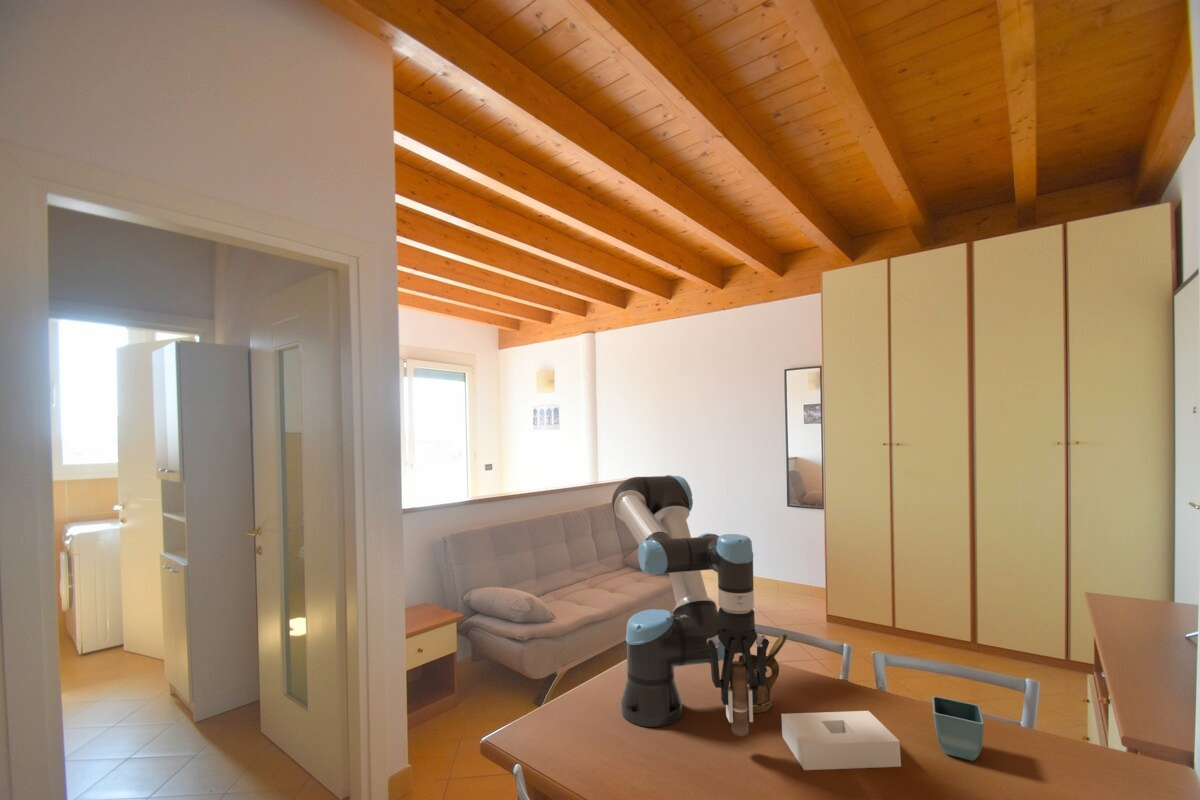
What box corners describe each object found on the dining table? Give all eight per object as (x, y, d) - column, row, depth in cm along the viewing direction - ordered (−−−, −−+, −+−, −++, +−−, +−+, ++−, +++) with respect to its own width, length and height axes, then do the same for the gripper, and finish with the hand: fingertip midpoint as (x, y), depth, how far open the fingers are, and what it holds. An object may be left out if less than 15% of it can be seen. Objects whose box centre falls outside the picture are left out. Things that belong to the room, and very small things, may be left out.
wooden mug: (791, 718, 127) (787, 641, 129) (733, 710, 132) (730, 635, 133) (789, 700, 136) (786, 628, 137) (735, 693, 140) (732, 623, 141)
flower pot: (982, 747, 114) (979, 704, 115) (987, 770, 107) (984, 723, 107) (934, 736, 119) (931, 695, 119) (935, 757, 111) (933, 713, 112)
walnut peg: (729, 726, 116) (727, 661, 117) (745, 726, 116) (743, 660, 117) (733, 736, 112) (731, 668, 113) (750, 735, 113) (748, 668, 113)
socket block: (782, 736, 120) (781, 713, 120) (869, 733, 120) (868, 710, 121) (804, 770, 108) (802, 744, 108) (901, 766, 108) (899, 741, 109)
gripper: (702, 615, 112) (704, 729, 110) (780, 613, 112) (784, 727, 111) (694, 603, 119) (697, 710, 118) (768, 601, 120) (771, 708, 118)
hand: (739, 718), depth 114 cm, fingers closed on walnut peg, 4 cm apart
